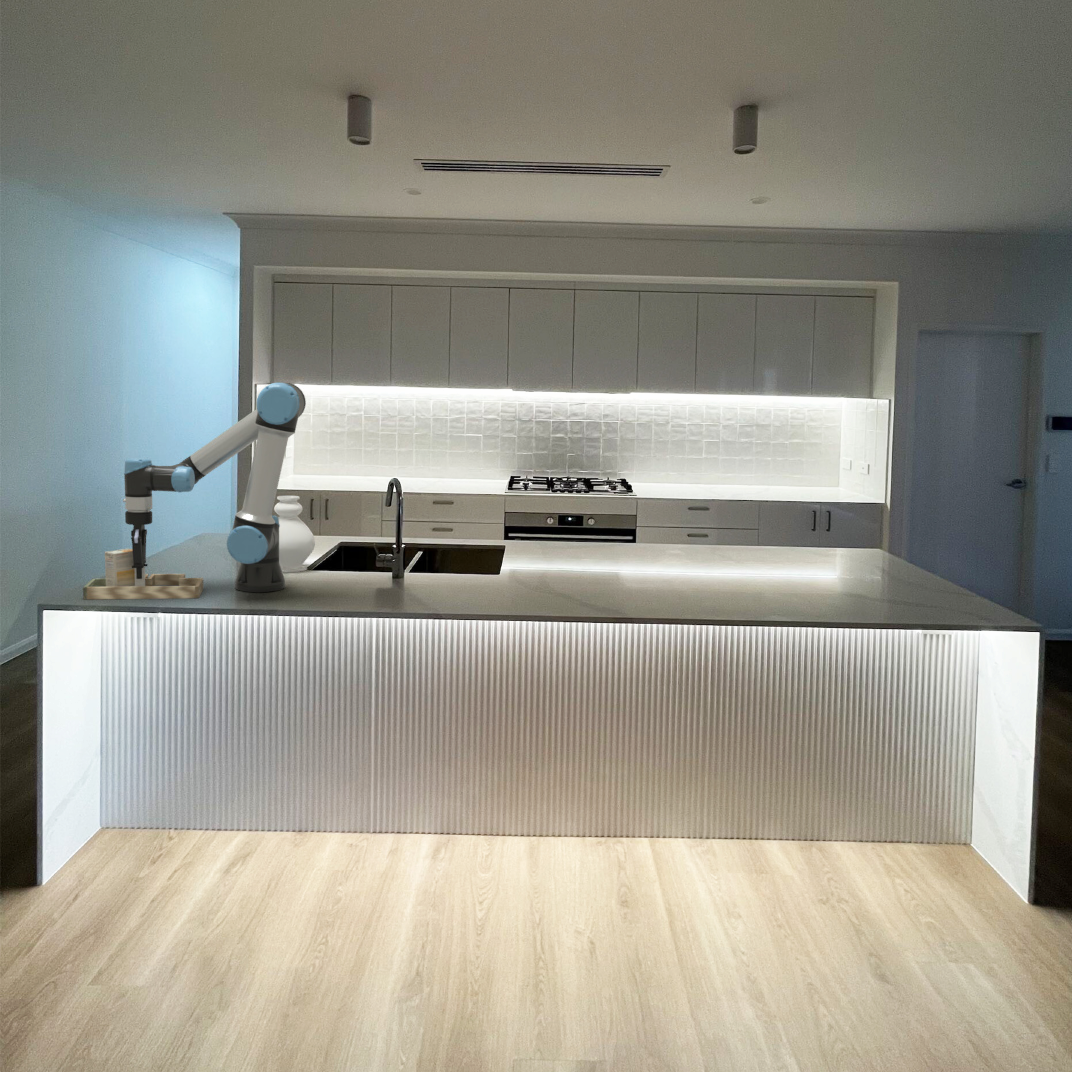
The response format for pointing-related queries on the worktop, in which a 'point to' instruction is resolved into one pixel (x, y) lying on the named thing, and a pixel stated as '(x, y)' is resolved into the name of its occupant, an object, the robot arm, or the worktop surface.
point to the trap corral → (147, 588)
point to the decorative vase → (293, 535)
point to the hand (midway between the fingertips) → (140, 588)
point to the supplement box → (119, 568)
